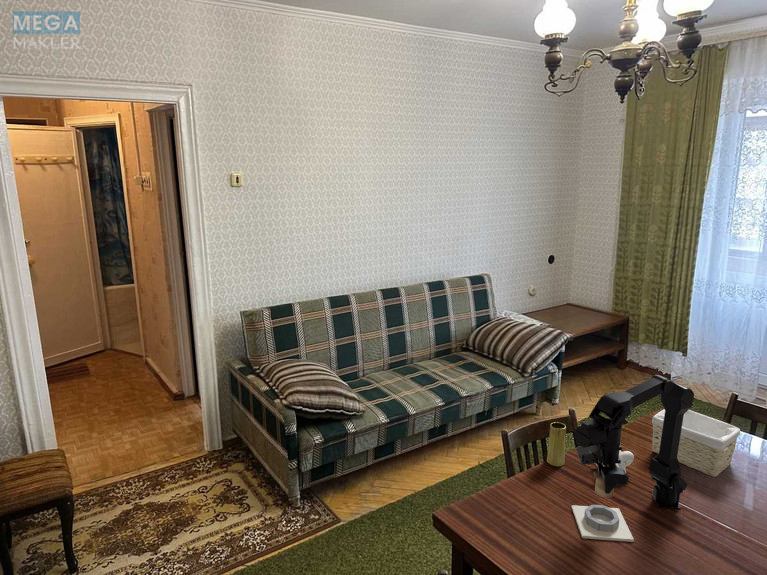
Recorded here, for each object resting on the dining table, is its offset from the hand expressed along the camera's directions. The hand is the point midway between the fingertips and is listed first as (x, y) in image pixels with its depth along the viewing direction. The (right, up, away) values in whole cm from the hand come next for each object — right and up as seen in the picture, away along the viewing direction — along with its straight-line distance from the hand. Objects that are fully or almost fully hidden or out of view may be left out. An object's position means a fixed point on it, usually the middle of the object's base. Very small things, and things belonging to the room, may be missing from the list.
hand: (604, 487), depth 156 cm
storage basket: (+46, -4, +37) cm, 59 cm away
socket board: (0, -12, +3) cm, 12 cm away
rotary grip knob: (0, -1, 0) cm, 2 cm away
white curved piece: (+14, -6, +29) cm, 33 cm away
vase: (-3, -4, +35) cm, 36 cm away
